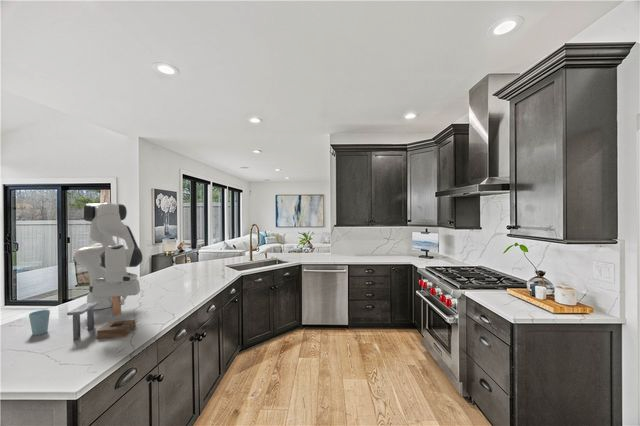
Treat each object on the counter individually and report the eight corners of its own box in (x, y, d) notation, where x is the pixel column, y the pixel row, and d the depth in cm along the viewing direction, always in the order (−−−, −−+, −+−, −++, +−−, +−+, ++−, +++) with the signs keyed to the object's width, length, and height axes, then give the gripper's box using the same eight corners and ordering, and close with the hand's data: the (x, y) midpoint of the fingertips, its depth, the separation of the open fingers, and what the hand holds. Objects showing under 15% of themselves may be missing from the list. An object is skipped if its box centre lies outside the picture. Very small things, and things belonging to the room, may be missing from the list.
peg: (111, 315, 145) (110, 295, 145) (114, 313, 148) (114, 293, 148) (119, 315, 146) (118, 294, 145) (122, 312, 149) (121, 293, 149)
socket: (109, 329, 152) (109, 321, 152) (135, 327, 154) (135, 319, 154) (97, 339, 140) (97, 330, 140) (125, 336, 142) (125, 328, 142)
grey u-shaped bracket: (85, 328, 153) (85, 303, 153) (99, 327, 155) (98, 302, 154) (67, 340, 139) (67, 312, 139) (82, 339, 140) (81, 311, 140)
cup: (30, 337, 143) (30, 316, 143) (28, 333, 148) (27, 312, 148) (51, 332, 149) (51, 311, 149) (48, 328, 154) (48, 308, 154)
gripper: (88, 280, 142) (89, 308, 142) (135, 277, 146) (136, 305, 146) (95, 277, 148) (96, 304, 148) (140, 274, 152) (141, 301, 152)
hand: (116, 305), depth 147 cm, fingers closed on peg, 3 cm apart
